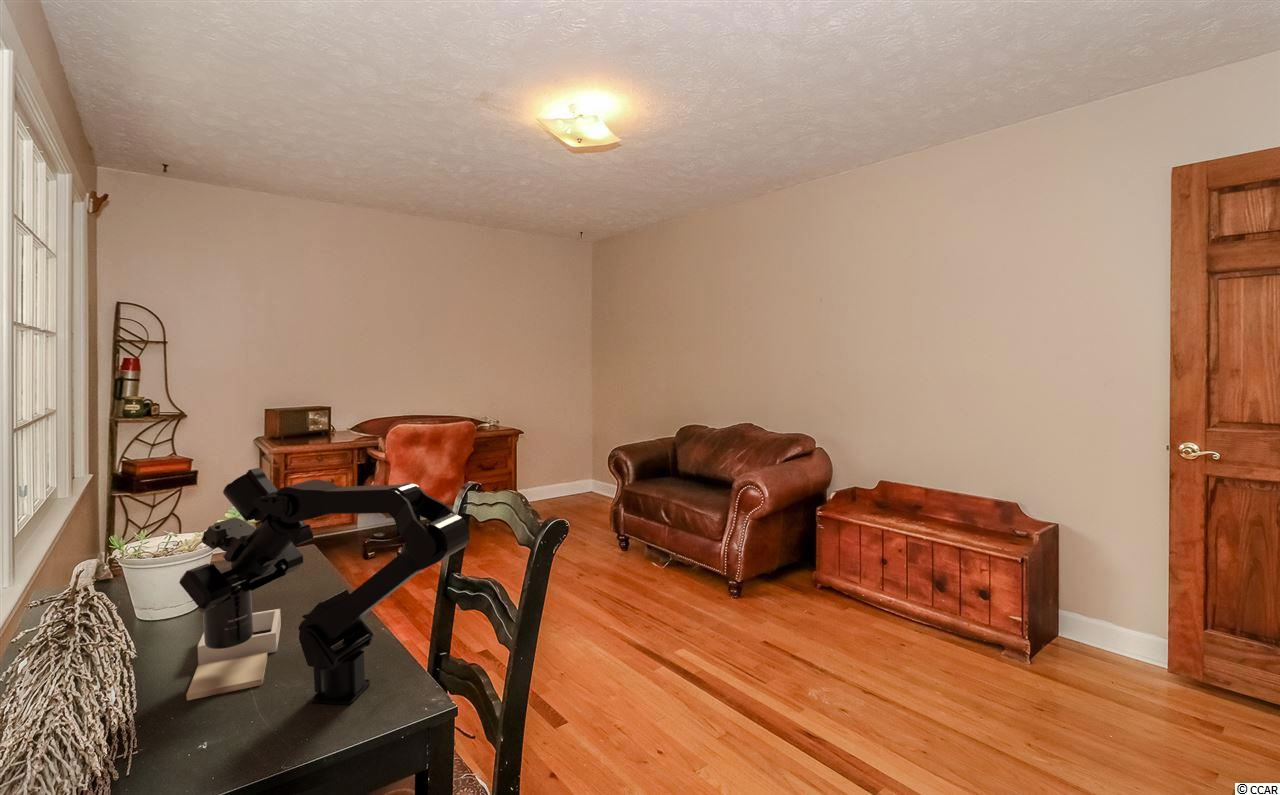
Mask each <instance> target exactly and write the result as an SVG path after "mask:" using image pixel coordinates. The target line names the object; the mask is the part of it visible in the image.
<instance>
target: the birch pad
mask: <svg viewBox="0 0 1280 795" xmlns="http://www.w3.org/2000/svg"><path fill="white" fill-rule="evenodd" d="M267 661H268V653H267V652H265V653H259V654H254V655H249V656H243V657H238V658H233V659H227V660H222V661H217V662H212V663H206V664H201V665H197V667H196V669H195V672H194V675H193V678H192V680H191V682H190V685H189V688H188V690H187V692H186V701H191V700H197V699H202V698H205V697H209V696H214V695H216V696H217V695H220V694H224V693H225V694H226V693H229V692H235V691H239V690H244V689H248V688H253V687H254V688H255V687H258V686H263V682H264V678H265V672H266V668H267V667H266V666H267V663H268V662H267Z"/></svg>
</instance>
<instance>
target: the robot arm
mask: <svg viewBox="0 0 1280 795" xmlns="http://www.w3.org/2000/svg"><path fill="white" fill-rule="evenodd" d="M222 493H223V495H224V496H225V498H226V499H227V501H229V502H230V504H231V505H232V506H233V507H234V509H235V511H237V512H238V513H239V514H240V515H241V517H242V518H238V517H232V518H228V519H224V520H220V521H218V522H215V523H213V525H209V526H208V528H207V530H205V531H203V536H202V538H201V541H202V543H203V544H204V545H205V546H207V547H208V548H210V549H211V550H215V549H218V548H219V549H220V550H222V551H223V552H225V553H224V554H223V556H222V558H223V559H224V560H225V561H226V562H227V563H229V562H230V566H229V567H231V568H232V569H231V570H229V571H226V572H224V573H220V571H219V570H218V569H219V568H217V566H216V565H215V564H214V563H205V564H203V565H199V566H197V567H194V568H191V569H188V570H186V571H185V572H184V574H183V575H182V576H181V577H180V579H179V582H178V583H179V584H180V586H181V587H182V588H183V590H184V591H185V592H186V593H187V594H188V596H189V597H190V598H191V599H192V601H194V603H195V604H196V606H197V607H198V610H199V611H200V613H202V614H203V612H206V611H208V610H210V609H212V608H214V607H216V606H218V605H220V604H222V603H224V602H226V601H228V600H230V599H231V597H230V596H229V595H230V594H231V589H232V586H233V585H236V584H238V583H241V582H246V583H247V584H249V585H250V587H251V592H253V591H255V590H257V589H259V588H261V587H263V586H266V585H268V584H270V583H272V582H274V581H277V580H279V579H280V578H283V577H285V576H286V575H287V574H290V573H293V572H294V571H297V570H298V569H300V567H301V566H302V565H303V564H304V555H303V554H302V553H301V551H300V550H299V549H298V548H297V546H298V545H301V544H304V543H307V542H309V541H312V540H313V539H314V533H313V531H312V529H311V524H306V522H305V521H307V520H312V519H315V518H319V517H322V516H326V515H327V516H328V515H338V514H339V515H351V514H352V515H353V514H389V515H390V517H391V518H393V520H394V523H395V527H396V528H397V530H398V534H399V536H400V538H401V539H402V540H404V544H403V546H402V549H401V552H400V553H399V554H398V555H396V557H394V558H393V559H392V560H391V561H389V562H388V563H387V564H386V565H384V566H383V567H382V568H381V569H380V570H378V571H377V572H376V573H375V574H373V575H372V576H371V577H369V578H368V579H367V580H366V581H364V582H363V583H362V584H360V585H359V586H358V587H356V589H354V590H353V591H352V592H351V593H350V592H349V590H348V588H345V589H344V590H341V591H339V592H338V593H335V594H334V595H331V596H329V597H328V598H325V599H324V600H321V601H320V602H318V604H316V605H315V606H314V608H313V609H312V610H311V611H308V612H307V613H305V614H303V615H302V616H301V617H302V619H304V620H302V621H301V622H300V624H299V626H298V631H299V635H298V641H299V643H300V647H301V649H302V652H303V656H304V657H305V658H304V659H305V662H306V665H307V666H308V667H311V668H313V689H314V690H313V691H314V693H315V694H314V695H313V696H312V697H311V698H310V702H311V703H313V704H314V703H315V704H335V705H350V704H353V702H354V701H355V700H356V699H357V698H358V697H359V696H360V695H361V694H362V693H363V692H364V690H365V689H366V688H367V687H368V686H369V685H370V684H371V679H368V678H366V672H365V671H366V668H365V667H366V666H365V665H366V664H365V650H364V649H365V648H366V647H369V646H370V645H371V644H372V641H373V638H374V633H373V632H372V630H371V629H370V628H369V627H368V626H367V625H366V623H365V622H364V621H366V618H367V615H368V613H369V612H370V611H371V610H373V609H374V608H375V607H376V606H378V605H379V604H380V603H382V602H383V601H384V600H385V599H386V598H388V597H389V596H391V595H392V594H393V593H394V592H395V591H396V590H398V589H399V588H400V587H402V586H403V585H404V584H406V583H407V582H408V581H410V580H411V579H412V578H413V577H415V576H416V575H417V574H419V573H420V572H421V571H423V570H425V569H428V568H429V567H431V566H434V565H436V564H437V563H439V562H441V561H443V560H445V559H446V558H448V557H450V556H451V555H453V554H456V553H457V552H459V551H460V550H462V549H464V548H465V547H466V546H467V545H468V544H469V542H470V540H471V539H470V528H469V525H468V523H467V521H466V520H465V519H464V518H463V517H462V516H460V515H458V514H456V513H455V512H454V511H453V510H452V509H451V508H450V507H449V506H448V505H447V504H446V503H444V502H442V501H440V500H438V499H437V498H434V497H433V496H431V495H428V494H427V493H426V492H425V491H424V490H423V489H422V488H421V487H420V486H419V485H418V484H416V483H412V482H406V483H403V484H383V485H353V486H352V485H351V486H350V485H348V486H342V485H338V484H335V483H334V482H333V481H327V480H321V479H316V478H314V479H311V480H310V479H309V480H306V481H303V482H300V483H299V482H298V483H295V484H291V485H286V486H283V487H280V488H279V489H277V487H276V486H275V485H274V484H273V483H272V482H271V480H270V479H269V478H268V476H267V475H266V473H265V472H264V470H262V467H257V468H256V467H255V468H251V469H249V470H247V472H246V473H245V474H243V475H241V476H239V477H237V478H236V479H234V480H233V481H232V482H230V483H227V484H226V486H225V487H224V489H223V491H222ZM415 514H416V515H418V516H420V517H422V518H423V519H425V520H428V521H429V522H427V523H425V524H422V523H421V522H420V521H419V520H418V518H417V517H416V515H415ZM243 519H244V520H243ZM252 520H254V521H256V522H259V521H261V522H260V523H259V525H257V527H255V526H253V525H251V524H250V523H249V522H248V521H252Z"/></svg>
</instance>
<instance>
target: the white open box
mask: <svg viewBox="0 0 1280 795" xmlns="http://www.w3.org/2000/svg"><path fill="white" fill-rule="evenodd" d="M252 617H253V633H257V632H262V631H269V630H270V631H269V632H265V633H258V634H253V635H252V637H251V638H250V639H249V640H248V641H246V642H244V643H242V644H240V645H237V646H233V647H229V648H224V649H211V648H208V647H207V646H206V645H205V640H204V632H203V633H202V636H201V638H200V640H199V642H198V644H197V662H198V665H201V664H206V663H212V662H217V661H222V660H227V659H233V658H238V657H243V656H249V655H254V654H259V653H265V652H267V654H272V653H276V652H278V644H279V639H280V633H281V624H282V623H281V621H282V620H281V618H282V617H281V608H277V609H271V610H264V611H263V610H262V611H259V612H258V611H257V612H252ZM198 665H197V666H198Z"/></svg>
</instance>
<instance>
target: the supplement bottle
mask: <svg viewBox="0 0 1280 795" xmlns="http://www.w3.org/2000/svg"><path fill="white" fill-rule="evenodd" d="M217 569H218V570H219V571H220V573H224V572H226V571H229V570H231V569H232V568H231V566H226V567H220V568H217ZM229 596H230V597H231V599H230V600H228V601H226V602H224V603H222V604H220V605H218V606H216V607H214V608H212V609H210V610H208V611H206V612H203V613H202V619H203V621H202V622H203V623H202V624H203V633H204V640H205V645H206V646H207V647H208V648H211V649H224V648H229V647H233V646H237V645H240V644H242V643H244V642H246V641H248V640H249V639H250V638H251V637H252V635H254V632H253V617H252V613H253V602H252V600H253V599H252V597H253V596H252V591H251V587H250V585H249V584H247V583H246V582H241V583H238V584H236V585H233V586H232V589H231V594H230V595H229Z"/></svg>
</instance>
